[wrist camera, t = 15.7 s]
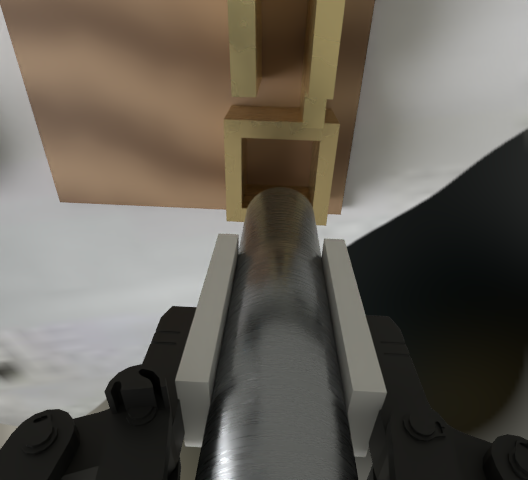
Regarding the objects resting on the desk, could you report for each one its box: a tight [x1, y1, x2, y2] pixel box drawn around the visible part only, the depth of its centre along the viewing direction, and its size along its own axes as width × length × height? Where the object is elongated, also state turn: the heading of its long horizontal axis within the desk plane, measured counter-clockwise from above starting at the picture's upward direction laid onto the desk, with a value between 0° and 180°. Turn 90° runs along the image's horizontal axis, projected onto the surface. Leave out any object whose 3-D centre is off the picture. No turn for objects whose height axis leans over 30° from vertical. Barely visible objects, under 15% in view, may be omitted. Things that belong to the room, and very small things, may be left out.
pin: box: [195, 187, 358, 480], centre depth 12 cm, size 3×3×13 cm
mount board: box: [0, 0, 375, 215], centre depth 22 cm, size 23×22×1 cm
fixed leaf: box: [224, 0, 345, 226], centre depth 19 cm, size 21×7×6 cm, turn 178°
